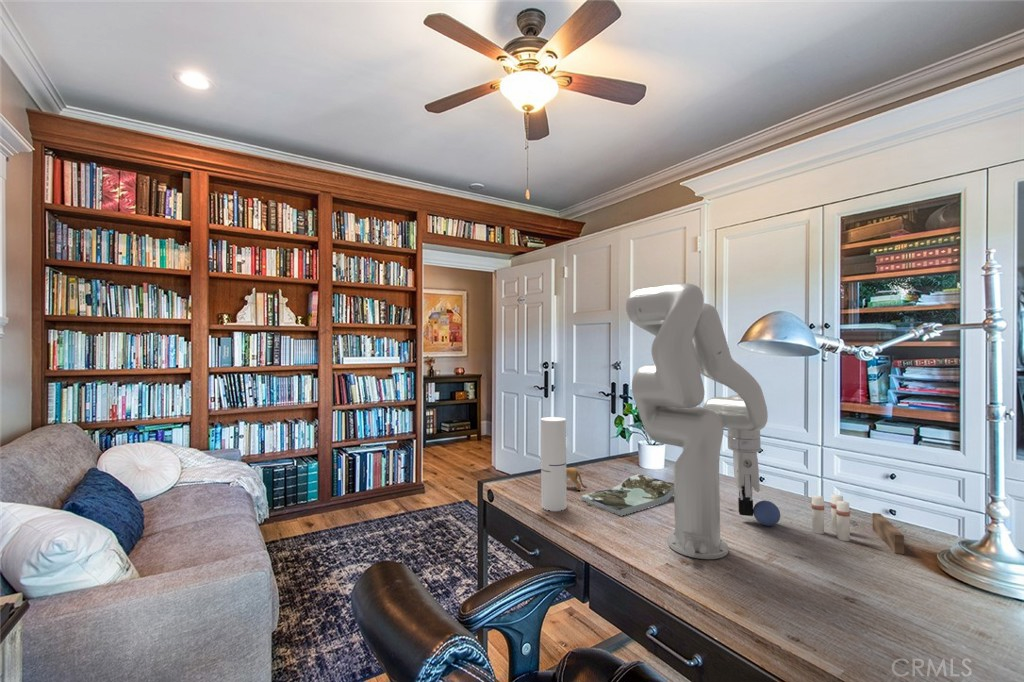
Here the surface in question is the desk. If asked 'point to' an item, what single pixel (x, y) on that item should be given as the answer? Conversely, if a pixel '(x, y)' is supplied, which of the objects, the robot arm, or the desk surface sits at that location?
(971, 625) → the desk surface
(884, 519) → the stopper rail
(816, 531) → the front pin
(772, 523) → the ball
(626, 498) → the topographical model
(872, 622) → the desk surface
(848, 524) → the rear pin near
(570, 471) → the lion figurine
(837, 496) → the rear pin far
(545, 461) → the cylindrical container
